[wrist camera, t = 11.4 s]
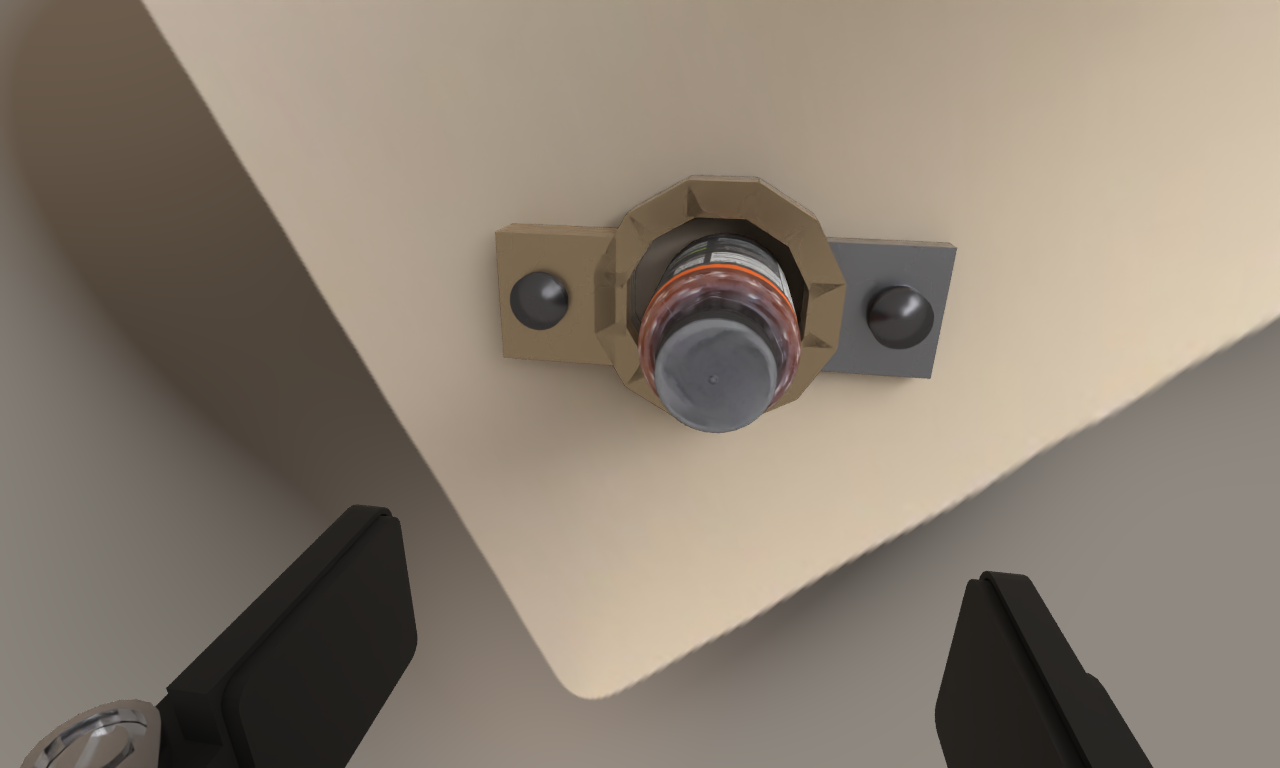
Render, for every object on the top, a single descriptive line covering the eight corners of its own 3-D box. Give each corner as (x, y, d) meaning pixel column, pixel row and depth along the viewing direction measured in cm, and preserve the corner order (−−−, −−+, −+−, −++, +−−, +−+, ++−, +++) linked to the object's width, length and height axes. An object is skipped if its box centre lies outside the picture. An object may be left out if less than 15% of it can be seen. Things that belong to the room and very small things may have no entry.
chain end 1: (852, 180, 29) (863, 187, 26) (820, 409, 33) (827, 436, 30) (509, 169, 31) (486, 174, 28) (521, 386, 35) (502, 409, 32)
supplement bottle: (736, 374, 33) (730, 494, 22) (638, 305, 32) (586, 396, 22) (815, 279, 30) (849, 365, 20) (711, 203, 30) (691, 250, 20)
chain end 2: (960, 183, 28) (979, 189, 26) (914, 416, 32) (926, 439, 30) (604, 172, 30) (592, 176, 28) (604, 392, 34) (595, 411, 32)
